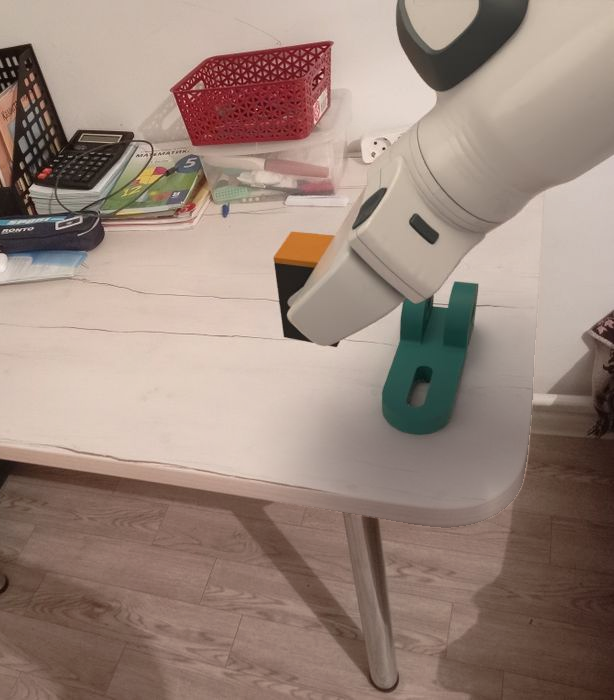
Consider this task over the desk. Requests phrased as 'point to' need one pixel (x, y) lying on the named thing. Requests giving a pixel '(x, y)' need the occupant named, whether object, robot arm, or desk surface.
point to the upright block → (297, 271)
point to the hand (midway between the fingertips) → (307, 286)
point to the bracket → (429, 360)
